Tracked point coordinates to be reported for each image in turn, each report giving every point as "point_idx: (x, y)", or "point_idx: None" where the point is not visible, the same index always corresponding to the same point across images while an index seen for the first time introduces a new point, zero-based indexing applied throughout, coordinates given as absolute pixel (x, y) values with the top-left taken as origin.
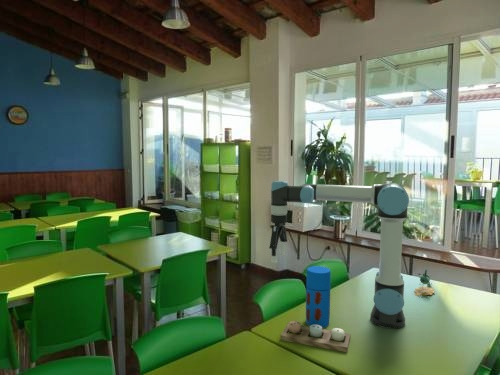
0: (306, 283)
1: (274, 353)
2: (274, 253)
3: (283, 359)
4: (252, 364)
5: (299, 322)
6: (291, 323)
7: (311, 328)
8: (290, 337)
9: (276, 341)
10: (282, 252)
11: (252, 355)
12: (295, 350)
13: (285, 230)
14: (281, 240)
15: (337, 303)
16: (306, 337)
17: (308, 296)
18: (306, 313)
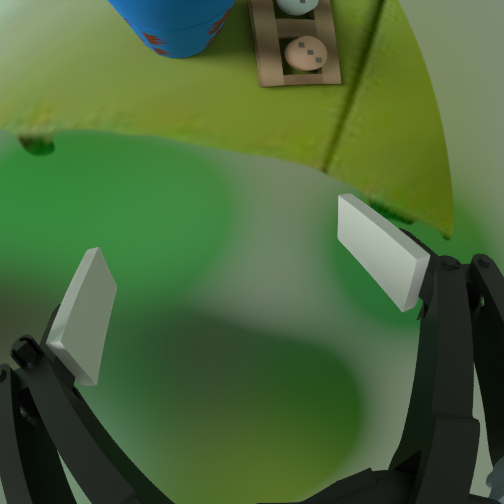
0: (207, 17)
1: (388, 83)
2: (417, 243)
3: (398, 62)
4: (427, 114)
5: (295, 41)
6: (317, 61)
7: (315, 5)
8: (338, 58)
9: (345, 91)
10: (101, 281)
11: (407, 123)
12: (361, 42)
13: (13, 488)
14: (72, 388)
15: (18, 56)
16: (320, 21)
17: (224, 17)
18: (206, 44)
